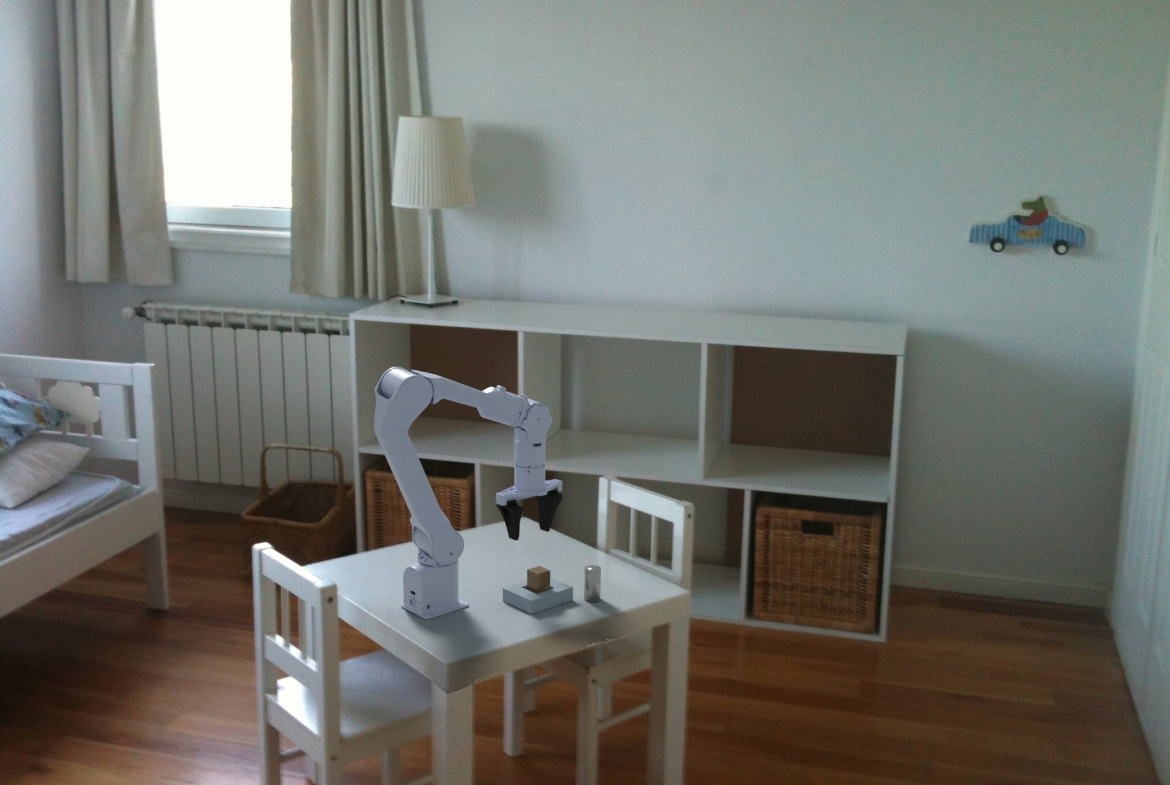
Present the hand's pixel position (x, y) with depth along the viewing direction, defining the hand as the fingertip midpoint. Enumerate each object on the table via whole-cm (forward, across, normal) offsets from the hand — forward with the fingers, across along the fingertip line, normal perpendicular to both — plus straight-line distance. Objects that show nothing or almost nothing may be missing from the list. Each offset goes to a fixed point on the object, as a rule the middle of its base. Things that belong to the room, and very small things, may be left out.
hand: (529, 534), depth 211 cm
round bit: (+10, +5, -12) cm, 17 cm away
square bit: (+10, -3, -6) cm, 12 cm away
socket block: (+10, -3, -6) cm, 12 cm away
